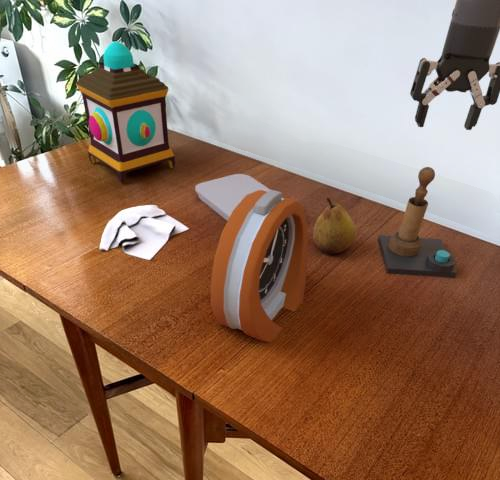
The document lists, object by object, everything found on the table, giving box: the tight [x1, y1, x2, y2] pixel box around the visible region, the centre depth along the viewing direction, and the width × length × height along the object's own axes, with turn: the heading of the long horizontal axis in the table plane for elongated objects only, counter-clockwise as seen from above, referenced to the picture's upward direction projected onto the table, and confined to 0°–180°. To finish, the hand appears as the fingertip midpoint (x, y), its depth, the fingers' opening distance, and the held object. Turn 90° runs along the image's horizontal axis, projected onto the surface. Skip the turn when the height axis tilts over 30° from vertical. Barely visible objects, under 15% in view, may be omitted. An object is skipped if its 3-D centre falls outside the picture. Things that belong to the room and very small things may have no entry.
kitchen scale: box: [377, 234, 457, 279], centre depth 100 cm, size 14×13×3 cm
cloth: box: [99, 204, 190, 261], centre depth 103 cm, size 20×22×2 cm
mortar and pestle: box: [389, 166, 436, 257], centre depth 95 cm, size 7×6×18 cm
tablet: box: [194, 173, 284, 222], centre depth 114 cm, size 16×26×2 cm, turn 35°
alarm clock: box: [210, 189, 309, 343], centre depth 78 cm, size 22×10×23 cm, turn 151°
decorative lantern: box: [75, 40, 176, 184], centre depth 119 cm, size 20×20×30 cm
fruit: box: [312, 197, 356, 255], centre depth 98 cm, size 9×9×12 cm
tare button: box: [435, 250, 451, 263], centre depth 95 cm, size 3×3×2 cm
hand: (443, 127), depth 83 cm, fingers open, 8 cm apart
